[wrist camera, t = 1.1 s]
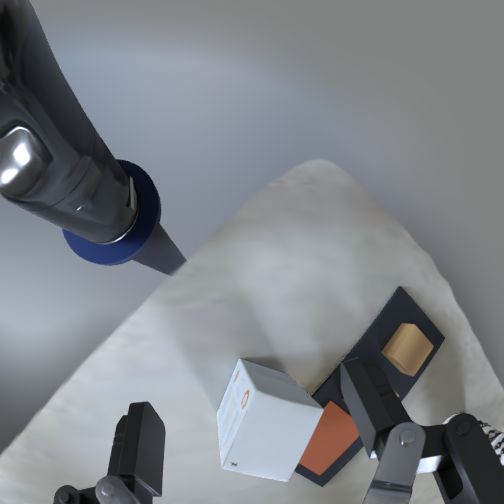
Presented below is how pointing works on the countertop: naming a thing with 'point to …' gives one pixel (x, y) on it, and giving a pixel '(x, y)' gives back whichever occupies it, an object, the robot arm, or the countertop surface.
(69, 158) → the robot arm
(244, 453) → the small box
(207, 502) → the countertop surface
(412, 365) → the letter block
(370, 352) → the word mat
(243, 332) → the countertop surface
